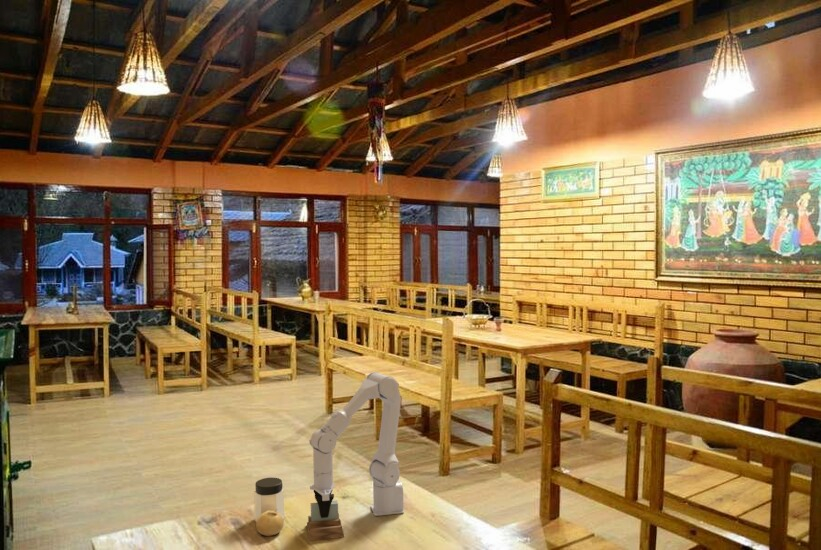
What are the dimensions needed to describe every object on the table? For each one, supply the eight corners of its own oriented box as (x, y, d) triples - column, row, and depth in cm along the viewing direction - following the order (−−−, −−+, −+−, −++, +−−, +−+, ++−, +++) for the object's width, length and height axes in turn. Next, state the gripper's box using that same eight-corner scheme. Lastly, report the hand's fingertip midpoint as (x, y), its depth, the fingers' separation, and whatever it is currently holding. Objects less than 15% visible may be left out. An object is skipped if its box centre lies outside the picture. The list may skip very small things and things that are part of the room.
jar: (288, 520, 200) (287, 482, 200) (264, 528, 195) (263, 489, 194) (274, 511, 207) (274, 474, 206) (251, 518, 202) (250, 481, 201)
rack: (339, 521, 199) (339, 512, 199) (344, 536, 189) (343, 526, 189) (307, 525, 197) (306, 515, 197) (309, 540, 187) (309, 530, 187)
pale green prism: (337, 521, 197) (337, 500, 197) (338, 524, 195) (338, 503, 194) (310, 524, 195) (310, 503, 195) (311, 527, 193) (311, 506, 193)
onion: (256, 540, 187) (256, 516, 187) (255, 529, 195) (255, 505, 195) (284, 537, 190) (284, 513, 189) (282, 525, 197) (282, 502, 197)
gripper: (308, 463, 200) (308, 506, 201) (311, 480, 186) (312, 526, 187) (330, 461, 202) (331, 504, 203) (336, 478, 188) (336, 524, 189)
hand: (324, 515), depth 195 cm, fingers closed on pale green prism, 2 cm apart
